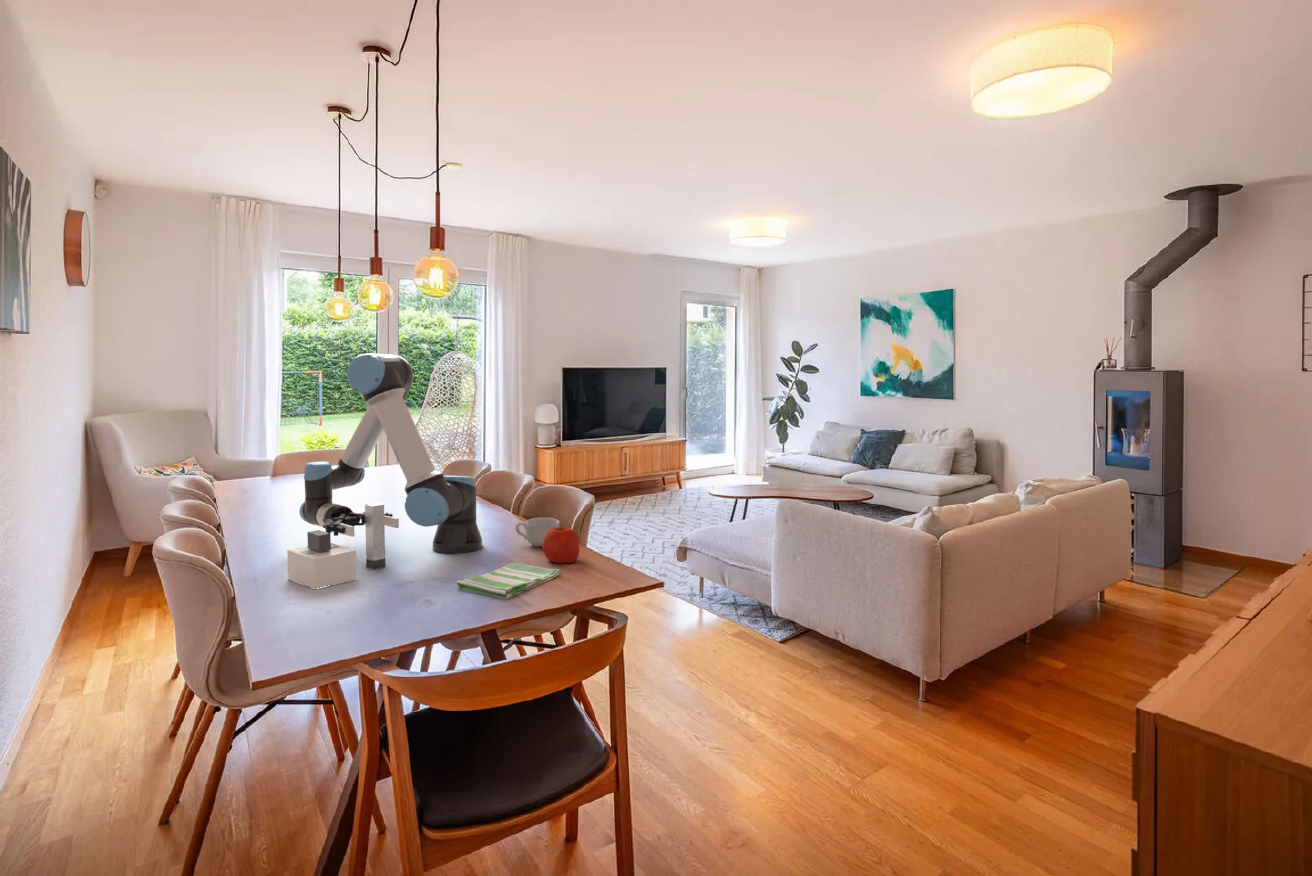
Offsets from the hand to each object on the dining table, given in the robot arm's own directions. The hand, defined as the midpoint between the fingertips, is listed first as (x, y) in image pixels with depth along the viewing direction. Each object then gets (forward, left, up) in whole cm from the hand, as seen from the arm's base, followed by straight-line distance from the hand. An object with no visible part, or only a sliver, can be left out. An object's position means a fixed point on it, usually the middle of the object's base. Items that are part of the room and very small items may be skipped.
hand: (376, 527), depth 191 cm
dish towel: (-38, +16, -12) cm, 43 cm away
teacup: (-44, -23, -12) cm, 51 cm away
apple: (-52, -3, -12) cm, 53 cm away
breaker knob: (+11, +11, -3) cm, 16 cm away
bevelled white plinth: (+11, +11, -11) cm, 19 cm away
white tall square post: (+1, -1, -11) cm, 12 cm away
